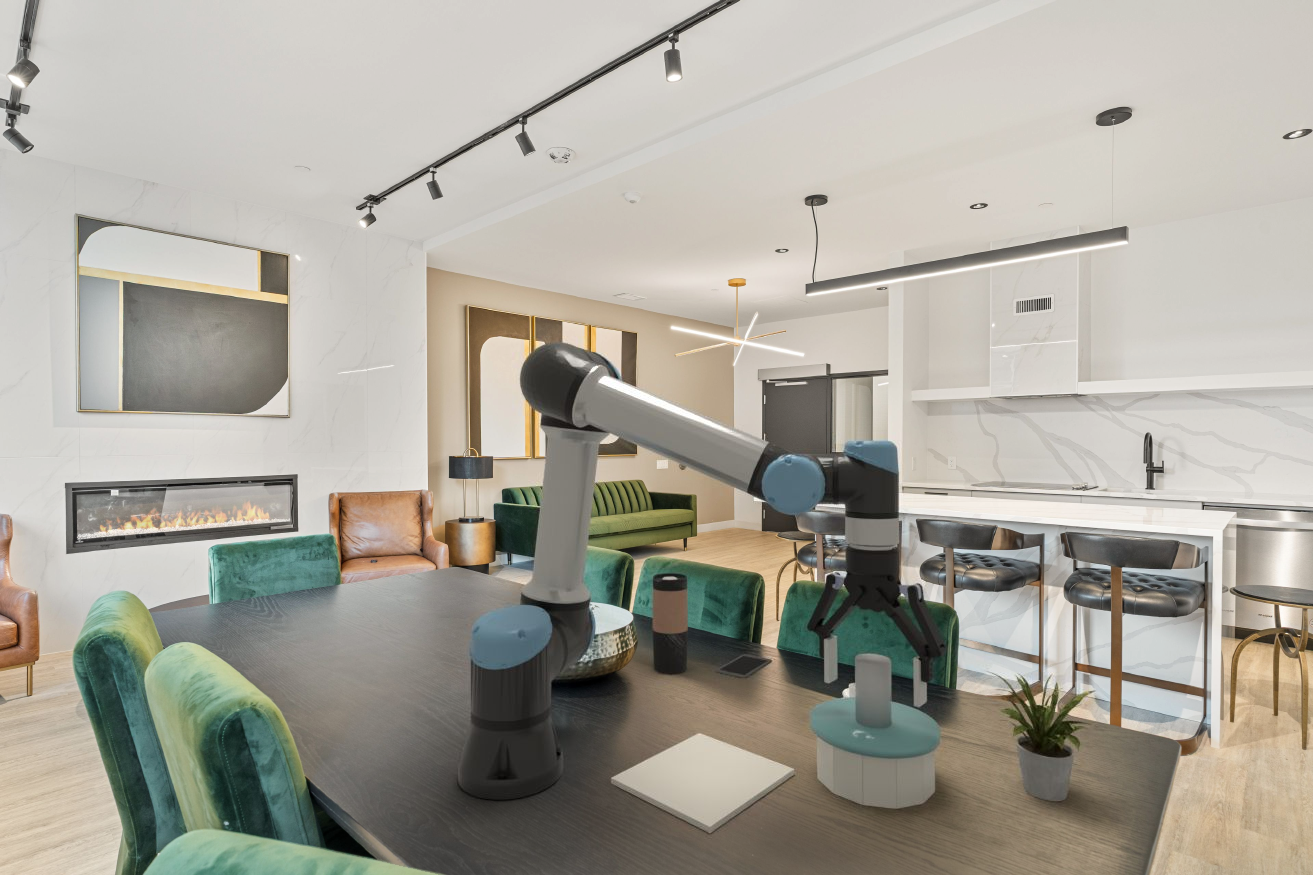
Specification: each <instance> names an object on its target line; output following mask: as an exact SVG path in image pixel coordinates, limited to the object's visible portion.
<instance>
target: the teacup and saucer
mask: <svg viewBox="0 0 1313 875" xmlns="http://www.w3.org/2000/svg"><path fill="white" fill-rule="evenodd" d="M841 694H842V696H843V697H842V698H852V697H855V682H853V683H852V682H851V683H849V684H848V688H845V689H844V690H843V691H842V693H841Z"/></svg>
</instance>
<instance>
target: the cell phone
mask: <svg viewBox="0 0 1313 875" xmlns="http://www.w3.org/2000/svg"><path fill="white" fill-rule="evenodd" d="M772 662H773V660H772V659H770V658H767V657H762V656H756V655H751V654H748V653H747V654H745V653H744V654H741V655H740V656H737V657H736V658H734V659H732V660H730V661H729V662H726V663H725V664H724V665H721V666H720V667H718V668H717V669H715V671H714V673H716V672H717V673H716V674H718V673H720V674H719V675H723V674H725V675H724V676H727V675H730V676H729V677H732V676H734V677H733V678H736V677H737V678H736V679H741V678H745V679H747V678H749V677H751V676H752V675H754V674H756V673H757V672H759V671H760V670H761V669H763V668H765V667H767V666H768V665H769V664H771V663H772ZM758 670H759V671H758ZM756 671H757V672H756ZM753 673H754V674H753ZM750 675H751V676H750ZM748 676H749V677H748Z"/></svg>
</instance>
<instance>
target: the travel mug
mask: <svg viewBox="0 0 1313 875" xmlns="http://www.w3.org/2000/svg"><path fill="white" fill-rule="evenodd" d="M688 612H689V610H688V576H687V575H685V574H683V573H678V572H677V573H675V572H673V573H671V572H664V573H657V574H655V575H653V577H652V652H653V657H652V658H653V669H654V671H655V672H657V673H659V674H663V675H678V674H682V673H685V672H686V670H687V669H688V668H687V666H688V640H689V639H688V638H689V637H688V636H689V635H688V633H689V632H688V628H689V626H688V625H689V624H688V622H689V620H688V619H689V618H688V617H689V616H688Z"/></svg>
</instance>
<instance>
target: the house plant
mask: <svg viewBox="0 0 1313 875" xmlns="http://www.w3.org/2000/svg"><path fill="white" fill-rule="evenodd" d="M983 671H985V672H987V673H990V674H992V675H994V676H997V677H999V679H1000V680H1002V681H1003V682H1004V683H1005V684H1006V685H1007V686H1008V687H1009V689H1010V690H1011V691H1009V690H1006V689H1003V691H1004V692H1009V693H1010V694H1012V696H1013V697H1014V698H1016V700H1017V701H1018V702H1019V704H1020V705H1021V706H1022V708H1023V710H1024V712H1025V714H1026V715H1027V717H1028V719H1029V721H1030V723H1029V722H1028V721H1027V720H1026V718H1025V716H1024V714H1023V713H1022V711H1021V710H1020V708H1019V707H1018V705H1017V704H1016V703H1015V701H1013V699H1011V698H1010V697H1008V696H1007V695H1005V694H1004V695H1003V694H1000V693H999V694H998V693H996V694H995V695H996V696H998V695H999V696H1003V697H1005V698H1006V699H1007V700H1008V701H1009V702H1010V703H1011V704H1012V706H1014V708H1015V709H1016V710H1015V709H1013V708H1009V707H1008V708H1004V709H1002V710H1000V712H1001V713H1003V714H1004V715H1005V714H1006V715H1008V716H1006V718H1009V719H1012V720H1015V721H1018V722H1019V724H1020V725H1016V724H1014V723H1013V722H1011V721H1009V720H1006V719H999V721H1002V722H1007V723H1010V724H1011V725H1013V726H1014V727H1013V731H1012V733H1013V734H1012V738H1014V737H1015V736H1017V735H1020V734H1023V735H1022V736H1020V737H1018V738H1016V740H1015V744H1016V750H1017V755H1018V761H1019V762H1018V763H1019V766H1020V767H1019V768H1020V773H1021V778H1022V783H1023V790H1025V792H1027V793H1028V794H1030V795H1031V796H1033V797H1036V798H1037V799H1041V800H1044V801H1049V802H1061V801H1064V800H1066V799H1067V797H1068V792H1069V784H1070V781H1071V780H1070V779H1071V774H1072V770H1073V769H1072V768H1073V765H1074V758H1075V751H1074V749H1073V748H1072V747H1071V746H1070V745H1068V744H1066V743H1065V741H1066V739H1067V740H1068V741H1070V742H1071V743H1072V744H1073V745H1074V746H1075V748H1076V749H1077V751H1078V752H1077V753H1079V751H1080V750H1079V749H1080V745H1081V742H1080V740H1079V738H1078V737H1077V736H1075V735H1073V734H1072V733H1075V732H1076V731H1079V730H1081V729H1086V730H1087V729H1088V728H1087V727H1085V726H1083V725H1091V726H1092V723H1088V722H1083V721H1078V720H1077V721H1076V720H1064V719H1065V717H1066V716H1067V715H1068V714H1069V713H1070V712H1071V711H1072V710H1073V709H1075V708H1076V707H1079V706H1081V704H1080V703H1081V701H1083V700H1084V698H1085V697H1088V695H1091V694H1092V693H1094V692H1096V690H1088V691H1084V692H1082V693H1079V694H1078V695H1076V696H1075V697H1073V698H1072V699H1071V700H1069V701H1068V702H1067V703H1066V704H1065V705H1064V706H1063V707H1062V708H1061V710H1060V711H1059V714H1058V715H1057V717H1056V718H1055V720H1054V717H1055V713H1056V707H1057V705H1058V701H1059V694H1060V693H1059V691H1060V690H1063V687H1062V688H1059V685H1058V681H1056V683H1055V685H1054V690H1053V691H1052V694H1051V695H1049V696H1048V698H1047V699H1046V701H1045V698H1046V693H1047V687H1048V683H1049V682H1050V680H1051V677H1052V676H1053V674H1050V675H1049V677H1048V678H1047V680H1046V681H1045V684H1044V689H1043V694H1042V700H1041V704H1037V702H1036V700H1035V698H1034V695H1033V694H1032V691H1031V688H1030V684H1029V682H1028V681H1027V680H1026V678H1024V676H1023V675H1022V674H1019V673H1018V675H1019V676H1020V677H1018V676H1017V675H1015V674H1014V676H1015V678H1016V680H1017V682H1018V684H1019V685H1020V687H1021V689H1022V692H1023V694H1024V696H1025V698H1026V699H1027V701H1028V704H1027V703H1026V702H1025V701H1024V700H1023V698H1022V697H1021V696H1020V695H1018V694H1017V692H1016V691H1015V689H1014V688H1013V687H1012V685H1011V684H1010V683H1009V682H1008V681H1007V680H1006V679H1005V678H1004V677H1002V676H1000V675H998V674H997V673H994V672H991V671H988V670H983ZM995 691H1002V689H1001V688H1000V689H999V688H998V689H997V688H996V689H995ZM1050 698H1051V701H1050V704H1049V705H1048V703H1049V700H1050ZM1028 705H1029V706H1028ZM1086 706H1088V705H1087V704H1086ZM1029 707H1030V708H1029ZM1053 720H1054V722H1053ZM1077 724H1079V725H1077ZM1080 724H1083V725H1080ZM1075 725H1076V726H1075ZM1025 732H1026V733H1025Z"/></svg>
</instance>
